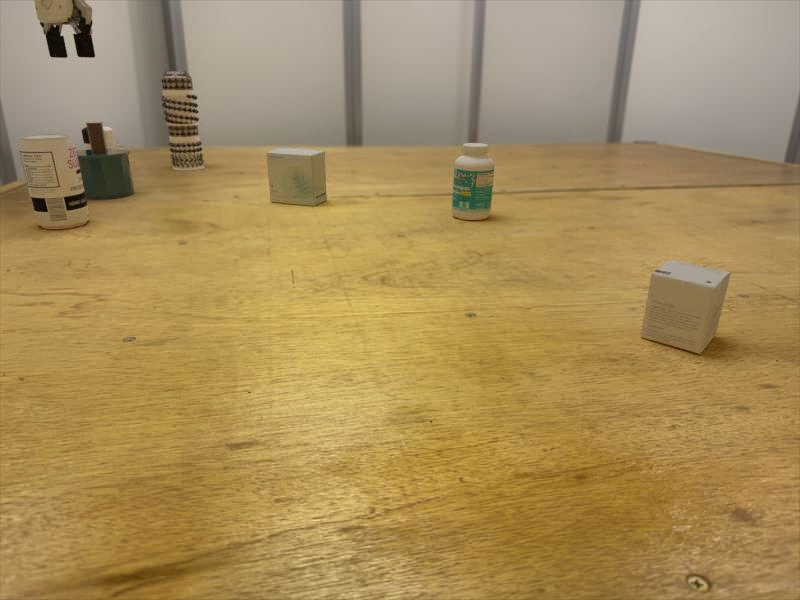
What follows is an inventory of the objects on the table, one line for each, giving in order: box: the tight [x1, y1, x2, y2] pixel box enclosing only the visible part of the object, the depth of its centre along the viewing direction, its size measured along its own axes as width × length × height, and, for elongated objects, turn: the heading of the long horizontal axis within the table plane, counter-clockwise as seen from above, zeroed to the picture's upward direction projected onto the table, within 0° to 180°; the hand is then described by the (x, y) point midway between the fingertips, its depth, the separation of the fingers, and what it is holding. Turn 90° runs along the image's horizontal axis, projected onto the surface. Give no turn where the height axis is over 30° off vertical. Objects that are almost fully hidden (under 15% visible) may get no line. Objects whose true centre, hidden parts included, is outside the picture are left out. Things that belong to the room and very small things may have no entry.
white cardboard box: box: [640, 259, 731, 355], centre depth 57 cm, size 6×6×7 cm
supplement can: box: [17, 133, 91, 230], centre depth 94 cm, size 8×8×15 cm
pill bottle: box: [451, 142, 495, 221], centre depth 103 cm, size 8×7×14 cm
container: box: [81, 125, 124, 150], centre depth 130 cm, size 8×8×13 cm
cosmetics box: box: [265, 147, 328, 207], centre depth 114 cm, size 10×6×10 cm, turn 71°
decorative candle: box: [160, 70, 205, 172], centre depth 149 cm, size 9×9×25 cm
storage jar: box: [78, 155, 135, 201], centre depth 119 cm, size 10×10×8 cm
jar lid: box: [76, 121, 131, 159], centre depth 116 cm, size 11×11×7 cm
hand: (72, 57), depth 107 cm, fingers open, 9 cm apart
